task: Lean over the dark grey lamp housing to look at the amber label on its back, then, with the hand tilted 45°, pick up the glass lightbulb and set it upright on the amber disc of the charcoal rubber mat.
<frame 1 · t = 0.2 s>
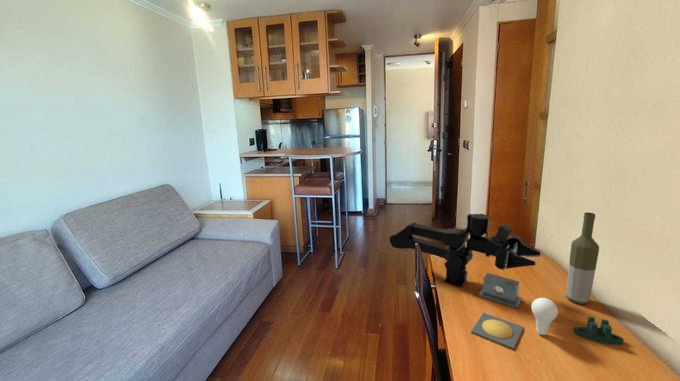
hand: (537, 258, 98), 16 cm above the table, tool horizontal, fingers open, 9 cm apart
mount: (597, 338, 86), on the table
lightbulb: (541, 334, 88), on the table
parts mat: (497, 330, 90), on the table
lamp housing: (499, 298, 106), on the table
bottle: (576, 300, 103), on the table
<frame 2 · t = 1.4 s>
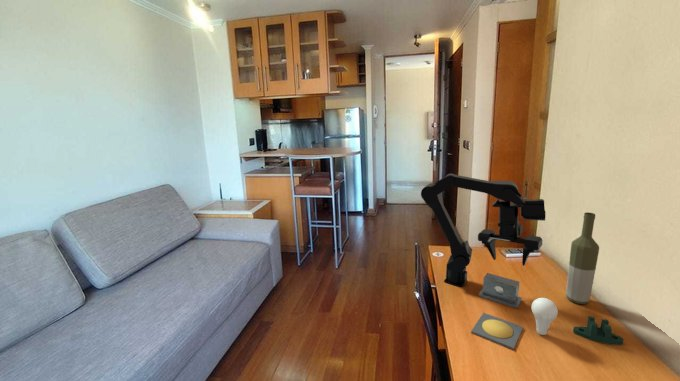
hand: (508, 262, 107), 11 cm above the table, tool pointing down, fingers open, 9 cm apart
nothing on the table moved.
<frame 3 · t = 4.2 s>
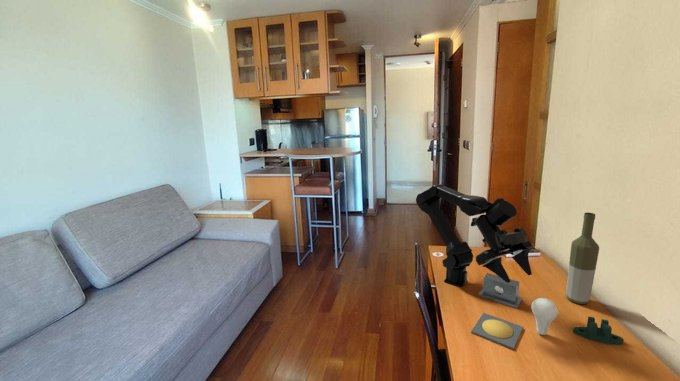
hand: (519, 278, 92), 13 cm above the table, tool tilted 45°, fingers open, 9 cm apart
nothing on the table moved.
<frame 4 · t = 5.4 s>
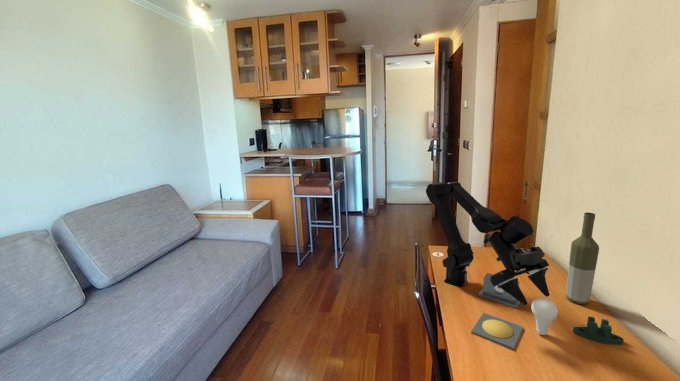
hand: (537, 300, 88), 9 cm above the table, tool tilted 45°, fingers open, 9 cm apart
nothing on the table moved.
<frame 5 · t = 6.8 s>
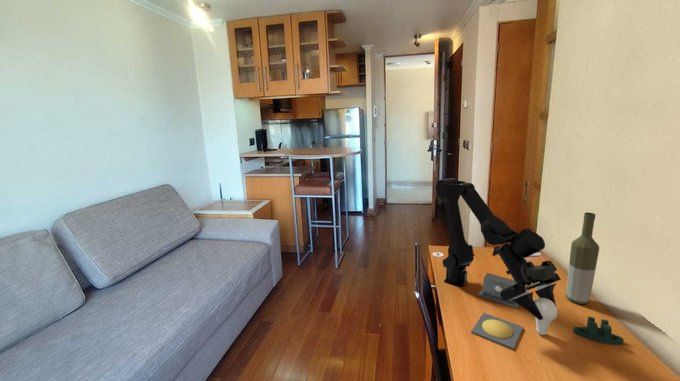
hand: (548, 316, 85), 7 cm above the table, tool tilted 45°, fingers closed on lightbulb, 6 cm apart
lightbulb: (541, 334, 88), on the table, touching gripper
everything else where it was.
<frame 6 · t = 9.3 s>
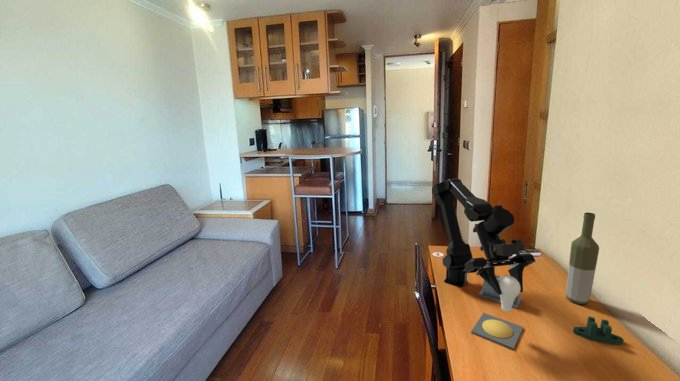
hand: (510, 293, 86), 13 cm above the table, tool tilted 45°, fingers closed on lightbulb, 6 cm apart
lightbulb: (506, 312, 89), point 6 cm above the table, touching gripper
everything else where it was.
when the fingers open (8 cm above the table, at t = 11.1 s): lightbulb stays where it is, resting on parts mat.
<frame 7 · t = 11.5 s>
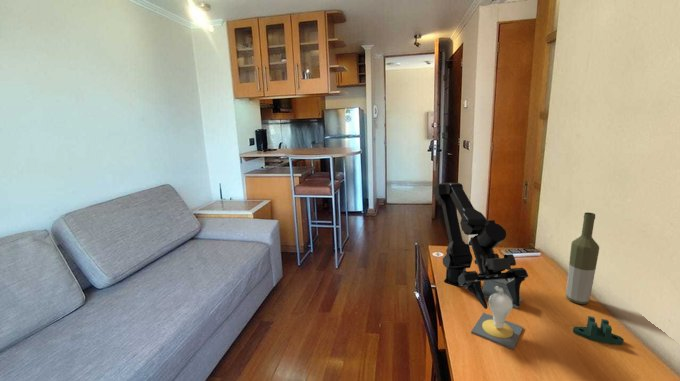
hand: (502, 307, 87), 9 cm above the table, tool tilted 45°, fingers open, 9 cm apart
lightbulb: (498, 328, 90), point 1 cm above the table, touching parts mat
everything else where it was.
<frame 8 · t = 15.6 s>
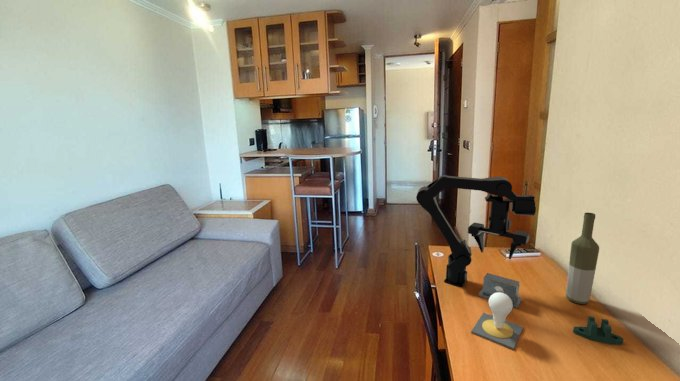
hand: (495, 255, 111), 12 cm above the table, tool pointing down, fingers open, 9 cm apart
nothing on the table moved.
at the end: lightbulb inside the target area on the parts mat (0.4 cm from its centre), point 0.6 cm above the parts mat's base; lightbulb tilted 0°; the gripper is holding nothing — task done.
